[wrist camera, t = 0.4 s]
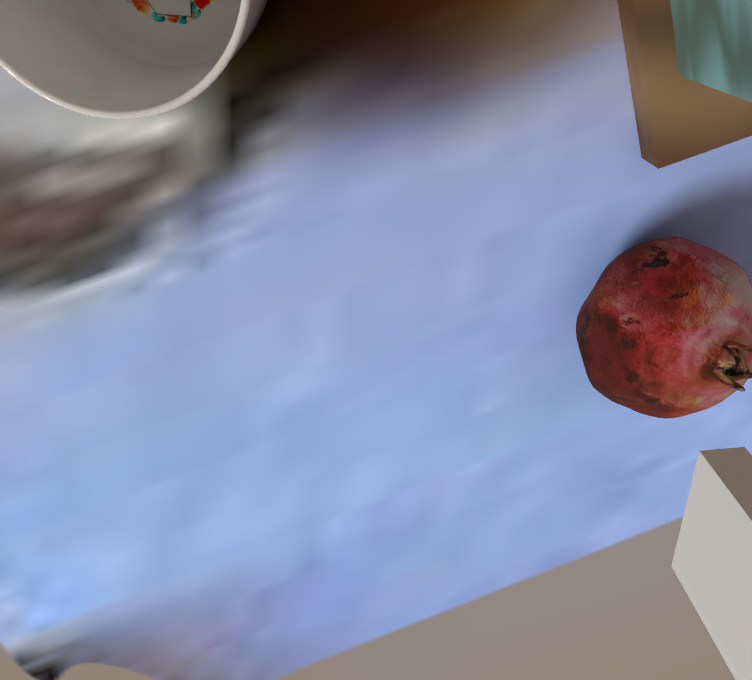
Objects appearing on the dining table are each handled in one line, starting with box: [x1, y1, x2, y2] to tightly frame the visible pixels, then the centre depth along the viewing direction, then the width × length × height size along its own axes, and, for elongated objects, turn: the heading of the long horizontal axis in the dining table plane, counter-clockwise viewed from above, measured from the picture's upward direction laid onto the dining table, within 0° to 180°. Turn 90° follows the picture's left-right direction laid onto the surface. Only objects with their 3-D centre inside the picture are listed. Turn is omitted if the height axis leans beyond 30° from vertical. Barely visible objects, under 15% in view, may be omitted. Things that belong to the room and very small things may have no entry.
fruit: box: [576, 237, 752, 418], centre depth 35 cm, size 9×10×10 cm
